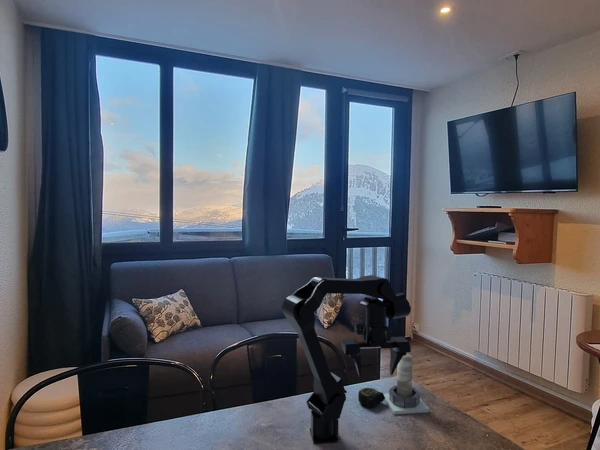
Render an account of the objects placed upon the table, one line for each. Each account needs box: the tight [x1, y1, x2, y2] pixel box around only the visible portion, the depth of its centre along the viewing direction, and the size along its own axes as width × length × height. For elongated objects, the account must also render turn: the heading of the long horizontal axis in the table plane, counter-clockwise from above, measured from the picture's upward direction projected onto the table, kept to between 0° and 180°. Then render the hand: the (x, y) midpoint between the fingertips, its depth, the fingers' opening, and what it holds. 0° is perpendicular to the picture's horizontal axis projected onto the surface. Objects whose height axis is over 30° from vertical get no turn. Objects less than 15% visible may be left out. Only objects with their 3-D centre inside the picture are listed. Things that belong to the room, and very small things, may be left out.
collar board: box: [383, 392, 430, 415], centre depth 125 cm, size 11×11×1 cm
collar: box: [388, 385, 421, 408], centre depth 125 cm, size 8×8×3 cm
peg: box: [396, 353, 414, 397], centre depth 125 cm, size 4×4×14 cm
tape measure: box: [357, 387, 385, 408], centre depth 126 cm, size 7×7×4 cm
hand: (375, 375), depth 115 cm, fingers open, 9 cm apart
